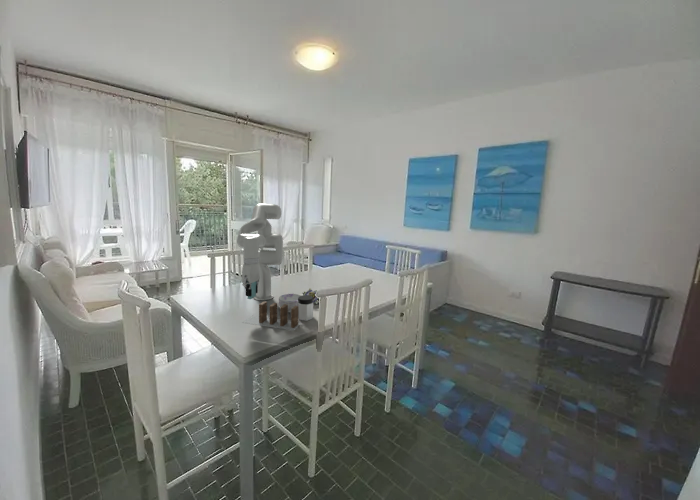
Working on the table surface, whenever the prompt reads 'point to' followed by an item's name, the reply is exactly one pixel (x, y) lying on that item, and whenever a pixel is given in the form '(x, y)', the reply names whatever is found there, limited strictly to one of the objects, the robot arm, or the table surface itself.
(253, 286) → the tile
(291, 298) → the paper bowls
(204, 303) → the table surface
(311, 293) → the passion flower
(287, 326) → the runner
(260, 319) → the tile
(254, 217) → the robot arm
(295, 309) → the tile
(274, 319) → the tile
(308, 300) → the jar
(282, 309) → the tile
